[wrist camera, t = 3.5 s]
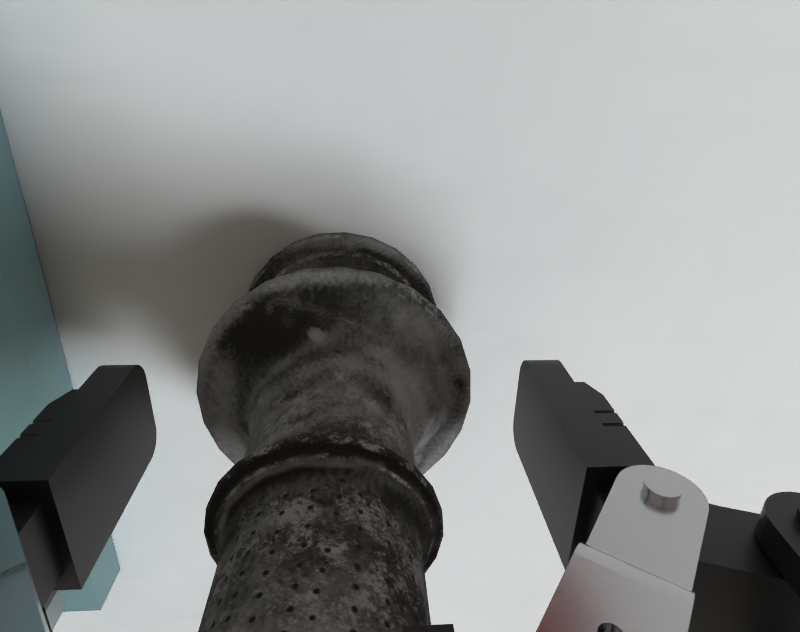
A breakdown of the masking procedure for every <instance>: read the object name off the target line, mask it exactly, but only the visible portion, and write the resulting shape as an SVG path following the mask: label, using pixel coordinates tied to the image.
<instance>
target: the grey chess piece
mask: <svg viewBox="0 0 800 632" xmlns="http://www.w3.org/2000/svg"><path fill="white" fill-rule="evenodd" d="M197 396H198V400H199V405H200V409H201V413H202V417H203V421H204V424H205V425H206V427H207V429H208V430H209V432H210V434H211V436H212V437H213V439H214V441H215V442H216V444H217V446H218V448H219V449H220V450H221V451H222V452H223V453H224V454H225V455H226V456H227V457H228V458H229V459H230V460H231V461H232V462H233V463H234V464H235V465H234V466H233V467H232V468H231V469H230V470H229V471H228V472H227V473H226V474H225V475H224V476H223V477H222V478H221V480H220V481H219V482H218V484H217V486H216V488H215V490H214V492H213V494H212V496H211V498H210V500H209V502H208V505H207V507H206V515H205V527H204V534H205V538H206V541H207V545H208V548H209V552H210V555H211V557H212V558H213V560H214V561H215V562H216V564H217V569H216V572H215V575H214V579H213V582H212V586H211V589H210V593H209V596H208V600H207V603H206V607H205V610H204V614H203V617H202V620H201V624H200V627H199V631H198V632H403V629H402V626H423V625H431V622H430V614H429V606H428V598H427V590H426V582H425V572H426V571H427V570H428V568H429V567H430V565H431V564H432V563H433V561H434V560H435V558H436V556H437V553H438V550H439V547H440V544H441V541H442V538H443V519H442V509H441V506H440V504H439V501H438V499H437V496H436V494H435V491H434V489H433V486H432V485H431V484H430V483H429V482H428V481H427V479H426V478H425V477H424V476H423V474H424V473H425V472H426V471H428V470H429V469H430V468H431V467H432V466H433V465H434V464H435V463H436V462H437V461H439V460H440V459H441V458H442V457H443V456H444V455H445V454H446V453H447V451H448V449H449V448H450V446H451V445H452V443H453V442H454V440H455V439H456V437H457V436H458V434H459V433H460V431H461V430H462V426H463V423H464V420H465V417H466V413H467V410H468V407H469V404H470V368H469V365H468V362H467V359H466V356H465V352H464V349H463V346H462V343H461V340H460V338H459V336H458V335H457V334H456V332H455V331H454V329H453V328H452V326H451V325H450V323H449V322H448V320H447V319H446V317H445V316H444V315H443V313H442V312H441V311H440V310H439V309H438V308H437V307H436V305H435V302H434V299H433V296H432V293H431V289H430V286H429V285H428V283H427V282H426V280H425V279H424V277H423V276H422V274H421V273H420V271H419V270H418V268H417V267H416V265H414V264H413V263H412V262H411V261H410V260H408V259H407V258H406V257H405V256H404V255H403V254H401V253H400V252H399V251H398V250H397V249H395V248H393V247H391V246H389V245H386V244H384V243H382V242H380V241H378V240H376V239H374V238H371V237H365V236H360V235H355V234H349V233H335V234H320V235H316V236H313V237H310V238H307V239H304V240H301V241H298V242H295V243H293V244H291V245H290V246H288V247H287V248H285V249H284V250H282V251H281V252H279V253H278V254H276V255H275V256H273V257H272V258H271V259H270V260H269V261H268V262H267V264H266V265H265V266H264V267H263V268H262V270H261V271H260V272H259V273H258V274H257V276H256V277H255V279H254V281H253V283H252V286H251V288H250V290H249V293H247V294H246V295H244V296H243V297H241V298H240V299H238V300H237V301H235V302H234V303H233V305H232V306H231V307H230V308H229V309H228V311H227V312H226V313H225V314H224V315H223V317H222V318H221V319H220V320H219V321H218V323H217V324H216V325H215V326H214V327H213V329H212V330H211V333H210V335H209V338H208V340H207V342H206V345H205V347H204V350H203V352H202V355H201V357H200V359H199V366H198V379H197Z"/></svg>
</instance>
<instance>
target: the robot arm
mask: <svg viewBox="0 0 800 632" xmlns="http://www.w3.org/2000/svg"><path fill="white" fill-rule="evenodd" d="M513 431H514V441H515V446H516V449H517V452H518V454H519V457H520V459H521V462H522V464H523V467H524V469H525V472H526V474H527V477H528V479H529V482H530V484H531V487H532V489H533V491H534V494H535V496H536V499H537V501H538V504H539V506H540V509H541V511H542V514H543V516H544V519H545V521H546V524H547V526H548V529H549V531H550V534H551V536H552V538H553V541H554V543H555V546H556V548H557V551H558V553H559V556H560V558H561V561H562V563H563V566H564V568H565V572H564V574H563V576H562V578H561V581H560V583H559V585H558V587H557V589H556V591H555V593H554V595H553V597H552V600H551V602H550V604H549V606H548V608H547V610H546V612H545V614H544V616H543V618H542V621H541V623H540V625H539V627H538V629H537V631H536V632H800V493H797V492H780V493H775V494H773V495H771V496H769V497H768V498H767V499H766V501H765V503H764V506H763V509H762V511H761V514H756V513H751V512H746V511H741V510H736V509H731V508H726V507H721V506H717V505H712V504H709V503H708V500H707V498H706V496H705V495H704V493H703V492H702V491H701V490H700V489H699V488H698V487H697V486H696V485H695V484H694V483H693V482H691V481H690V480H689V479H687V478H685V477H684V476H682V475H680V474H678V473H676V472H673V471H671V470H668V469H665V468H662V467H657V466H655V465H654V464H653V462H652V461H651V460H650V458H649V457H648V456H647V454H646V453H645V452H644V450H643V449H642V447H641V446H640V445H639V443H638V442H637V441H636V439H635V438H634V437H633V435H632V434H631V432H630V431H629V430H628V428H627V427H626V426H624V425H623V422H622V420H621V419H620V417H619V416H618V415H617V413H614V409H613V408H612V407H611V405H610V404H609V402H608V401H607V400H606V398H605V397H604V396H603V395H602V394H601V393H599V392H598V391H596V390H595V389H593V388H592V387H590V386H589V385H588V384H586V383H585V382H574V381H573V380H572V378H571V377H570V375H569V374H568V372H567V371H566V369H565V368H564V366H563V365H562V363H561V362H560V361H559V360H525V361H523V362H522V365H521V368H520V374H519V382H518V390H517V398H516V406H515V414H514V424H513ZM155 445H156V426H155V421H154V415H153V410H152V405H151V400H150V395H149V390H148V385H147V380H146V375H145V372H144V370H143V368H142V367H141V366H140V365H103V366H99V367H98V368H97V369H96V370H95V371H94V372H93V373H92V375H91V376H90V377H89V378H88V379H87V380H86V381H85V383H84V384H83V385H82V386H81V387H80V388H79V389H78V390H71V391H69V392H67V393H66V394H64V395H62V396H61V397H59V398H57V399H56V400H54V401H52V402H51V403H49V404H48V405H47V406H46V407H45V408H44V409H43V410H42V411H41V412H40V413H39V415H38V416H37V417H36V418H35V419H34V420H33V424H29V425H28V426H27V427H26V429H25V430H24V431H23V432H22V433H21V434H20V438H16V439H15V440H14V441H13V443H12V444H11V445H10V446H9V447H8V448H7V449H6V450H5V451H4V452H3V453H2V454H1V456H0V632H53V630H52V627H51V624H50V621H49V617H48V614H47V612H46V609H45V606H44V605H45V603H46V602H47V600H48V598H49V596H50V595H51V593H52V591H57V590H82V588H83V586H84V584H85V582H86V580H87V578H88V577H89V575H90V573H91V571H92V569H93V567H94V565H95V564H96V562H97V560H98V558H99V556H100V554H101V552H102V550H103V549H104V547H105V545H106V543H107V541H108V539H109V537H110V535H111V534H112V532H113V530H114V528H115V526H116V524H117V522H118V520H119V519H120V517H121V515H122V513H123V511H124V509H125V507H126V506H127V504H128V502H129V500H130V498H131V496H132V494H133V492H134V491H135V489H136V487H137V485H138V483H139V481H140V479H141V477H142V476H143V474H144V472H145V470H146V468H147V466H148V464H149V462H150V461H151V459H152V457H153V454H154V450H155ZM402 629H403V632H454V627H453V624H445V625H423V626H402Z"/></svg>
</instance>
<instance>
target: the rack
mask: <svg viewBox="0 0 800 632" xmlns="http://www.w3.org/2000/svg"><path fill="white" fill-rule="evenodd" d="M71 390H73V387H72V384H71V380H70V376H69V372H68V368H67V364H66V361H65V357H64V353H63V349H62V345H61V342H60V338H59V334H58V330H57V326H56V322H55V319H54V315H53V311H52V307H51V303H50V299H49V296H48V292H47V288H46V284H45V280H44V277H43V273H42V269H41V265H40V261H39V257H38V254H37V250H36V246H35V242H34V238H33V234H32V231H31V227H30V223H29V219H28V215H27V212H26V208H25V204H24V200H23V196H22V192H21V189H20V185H19V181H18V177H17V173H16V169H15V166H14V162H13V158H12V154H11V150H10V147H9V143H8V139H7V135H6V131H5V127H4V124H3V120H2V116H1V112H0V456H1V454H2V453H3V452H4V451H5V450H6V449H7V448H8V447H9V446H10V445H11V444H12V443H13V441H14V440H15V439H16V438H20V434H21V433H22V432H23V431H24V430H25V429H26V427H27V426H28V425H29V424H33V420H34V419H35V418H36V417H37V416H38V415H39V413H40V412H41V411H42V410H43V409H44V408H45V407H46V406H47V405H48V404H49V403H51V402H52V401H54V400H56V399H57V398H59V397H61V396H62V395H64V394H66V393H67V392H69V391H71ZM119 571H120V567H119V563H118V559H117V556H116V552H115V548H114V544H113V540H112V537H111V535H110V537H109V539H108V541H107V543H106V545H105V547H104V549H103V550H102V552H101V554H100V556H99V558H98V560H97V562H96V564H95V565H94V567H93V569H92V571H91V573H90V575H89V577H88V578H87V580H86V582H85V584H84V586H83V588H82V590H57V591H52V593H51V595H50V596H49V598H48V600H47V602H46V603H45V605H44V606H45V609H46V612H47V614H48V617H49V621H50V624H51V627H52V630H53V628H54V626H55V625H56V623H57V621H58V619H59V617H60V616H61V614H62V612H66V611H90V610H101V608H102V606H103V604H104V602H105V600H106V598H107V596H108V594H109V592H110V589H111V587H112V585H113V583H114V581H115V579H116V577H117V575H118V573H119Z"/></svg>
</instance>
